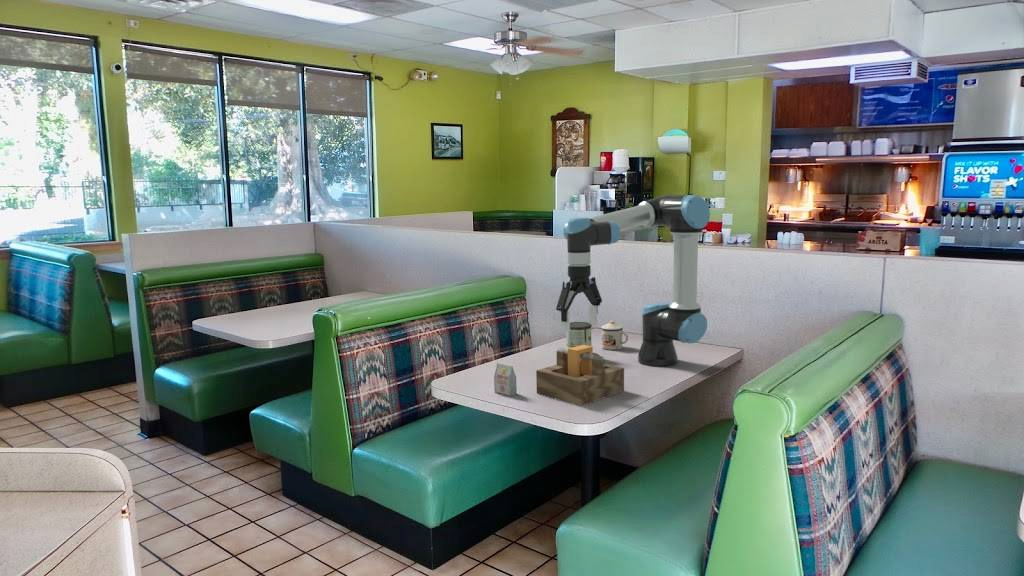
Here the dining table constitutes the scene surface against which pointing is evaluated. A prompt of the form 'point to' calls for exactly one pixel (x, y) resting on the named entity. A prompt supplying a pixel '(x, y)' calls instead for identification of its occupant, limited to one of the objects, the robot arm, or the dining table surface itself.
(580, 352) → the orange u-shaped bracket
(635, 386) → the dining table surface
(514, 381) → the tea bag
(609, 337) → the teacup with lid
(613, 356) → the dining table surface
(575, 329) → the coffee can
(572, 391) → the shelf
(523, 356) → the dining table surface
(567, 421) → the dining table surface
